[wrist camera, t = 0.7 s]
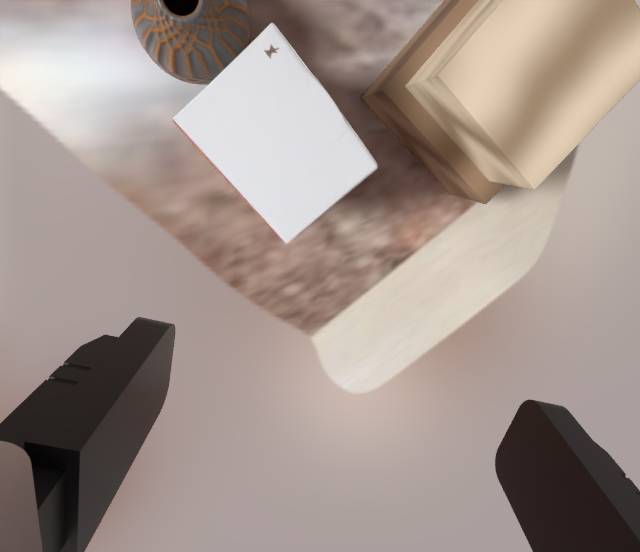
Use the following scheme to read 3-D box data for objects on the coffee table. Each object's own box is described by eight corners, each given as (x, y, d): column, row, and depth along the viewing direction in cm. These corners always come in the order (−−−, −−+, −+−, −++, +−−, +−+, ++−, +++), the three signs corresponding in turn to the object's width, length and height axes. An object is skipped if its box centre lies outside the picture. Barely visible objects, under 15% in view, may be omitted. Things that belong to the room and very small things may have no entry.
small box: (201, 124, 30) (166, 116, 18) (265, 64, 30) (273, 15, 18) (274, 207, 33) (287, 248, 21) (335, 154, 32) (383, 165, 20)
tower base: (359, 98, 32) (382, 90, 26) (471, -32, 30) (521, -71, 24) (448, 193, 35) (485, 204, 30) (553, 81, 34) (613, 71, 28)
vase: (264, 5, 29) (269, -47, 20) (233, 105, 30) (226, 93, 22) (164, -44, 27) (124, -124, 19) (137, 64, 28) (90, 35, 20)
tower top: (404, 86, 26) (437, 75, 21) (518, -47, 25) (581, -90, 20) (489, 181, 29) (534, 189, 24) (595, 67, 28) (665, 53, 23)
